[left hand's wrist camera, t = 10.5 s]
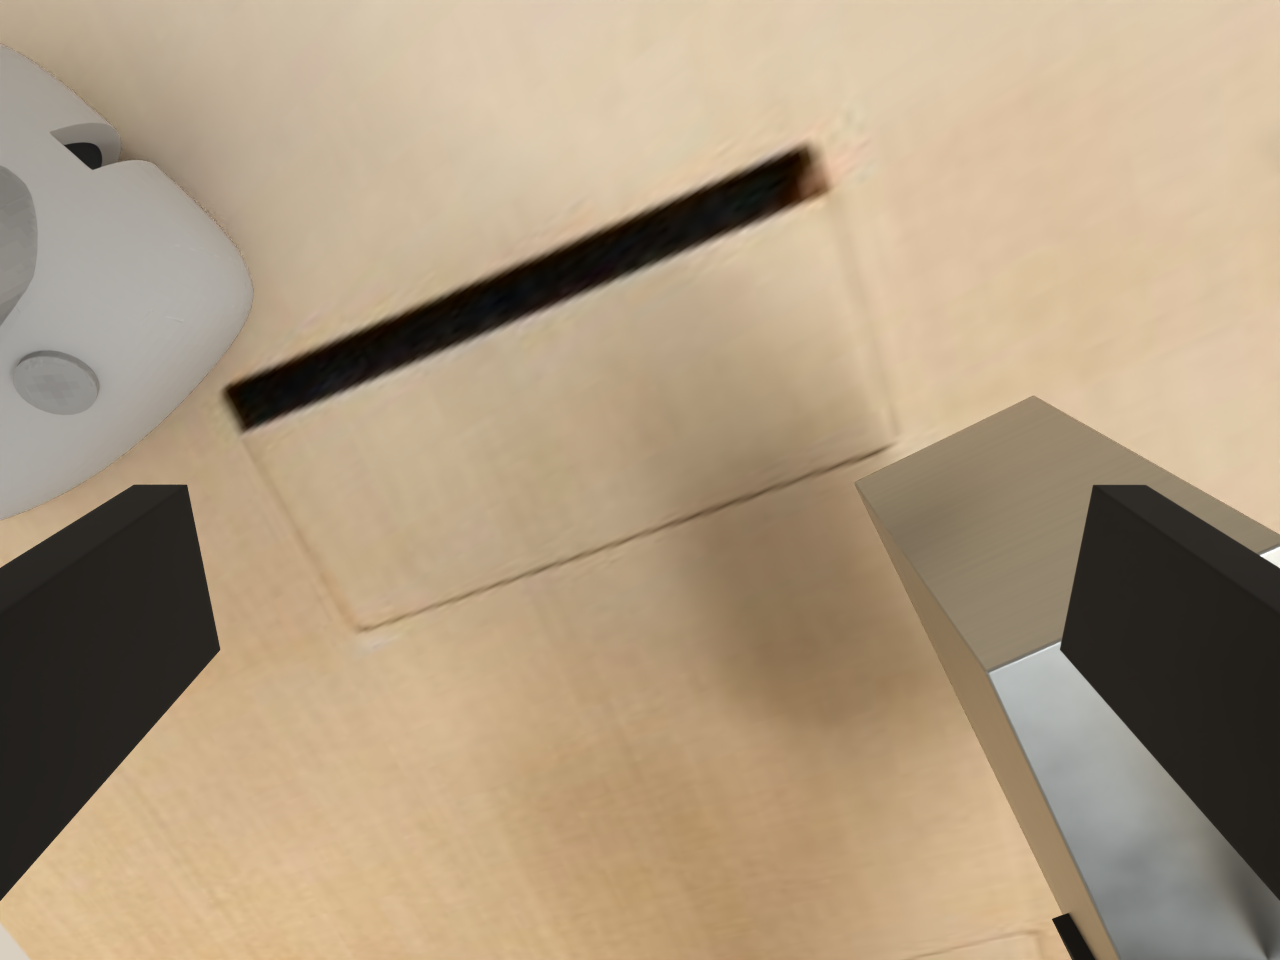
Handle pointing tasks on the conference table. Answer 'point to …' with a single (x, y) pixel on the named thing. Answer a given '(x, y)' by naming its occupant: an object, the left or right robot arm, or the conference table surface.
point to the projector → (95, 291)
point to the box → (1064, 680)
